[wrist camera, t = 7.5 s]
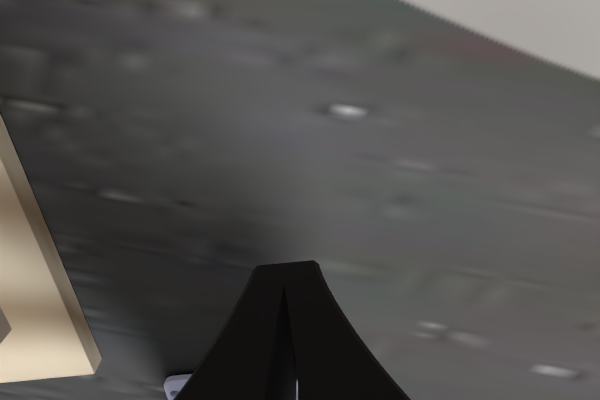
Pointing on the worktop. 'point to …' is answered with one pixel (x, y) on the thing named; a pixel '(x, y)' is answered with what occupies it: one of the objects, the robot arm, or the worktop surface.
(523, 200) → the worktop surface
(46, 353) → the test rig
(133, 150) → the worktop surface
